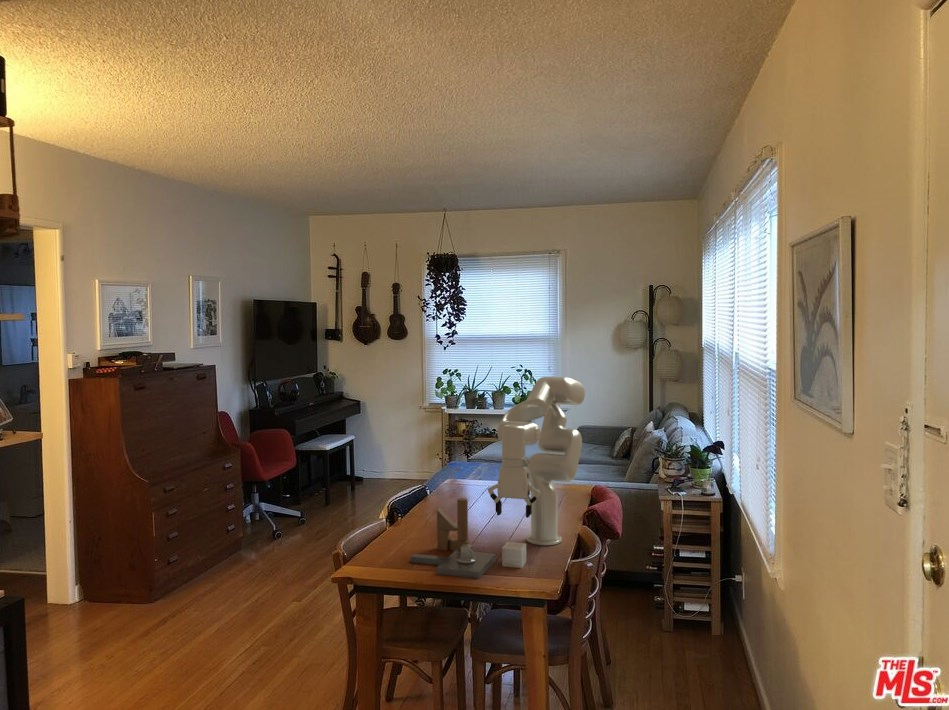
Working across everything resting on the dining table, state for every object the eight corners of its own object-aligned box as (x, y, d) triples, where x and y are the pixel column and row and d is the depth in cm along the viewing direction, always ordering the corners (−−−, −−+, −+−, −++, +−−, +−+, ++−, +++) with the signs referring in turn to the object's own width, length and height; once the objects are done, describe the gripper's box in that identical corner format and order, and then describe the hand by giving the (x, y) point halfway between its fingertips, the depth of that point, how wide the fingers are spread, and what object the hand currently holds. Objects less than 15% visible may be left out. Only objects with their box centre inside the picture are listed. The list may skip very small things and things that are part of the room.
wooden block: (440, 547, 241) (439, 496, 241) (469, 549, 239) (469, 498, 238) (437, 550, 238) (436, 498, 237) (467, 552, 235) (466, 500, 235)
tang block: (422, 552, 235) (422, 533, 235) (495, 559, 227) (495, 539, 227) (401, 570, 218) (401, 549, 218) (479, 578, 210) (478, 556, 210)
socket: (507, 559, 227) (507, 541, 227) (526, 561, 225) (526, 543, 225) (502, 566, 221) (502, 547, 221) (521, 568, 219) (521, 549, 219)
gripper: (542, 462, 223) (542, 514, 223) (491, 459, 228) (491, 510, 229) (537, 466, 216) (537, 520, 216) (484, 463, 221) (484, 516, 221)
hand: (513, 515), depth 222 cm, fingers open, 9 cm apart
